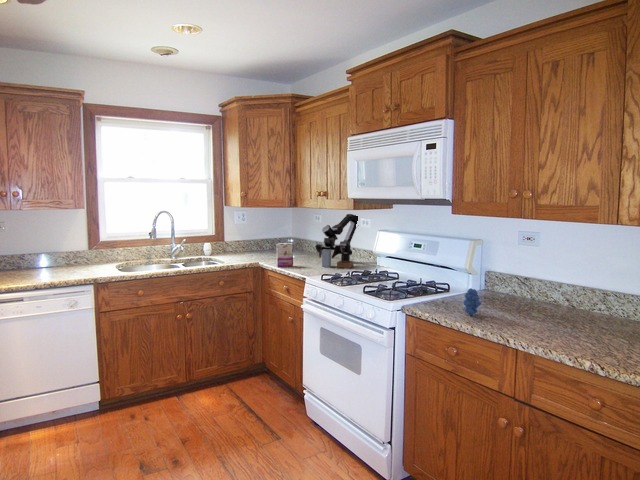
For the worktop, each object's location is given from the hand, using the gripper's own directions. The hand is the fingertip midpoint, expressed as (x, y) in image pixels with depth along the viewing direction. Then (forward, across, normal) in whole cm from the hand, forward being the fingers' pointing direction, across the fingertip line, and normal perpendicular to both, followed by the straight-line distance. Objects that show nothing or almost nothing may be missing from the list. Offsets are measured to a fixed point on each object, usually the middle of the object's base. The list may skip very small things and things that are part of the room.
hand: (325, 257), depth 311 cm
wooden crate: (+1, +13, +8) cm, 15 cm away
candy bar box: (+10, -28, 0) cm, 30 cm away
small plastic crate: (+4, 0, +6) cm, 7 cm away
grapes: (+72, +100, -62) cm, 138 cm away
